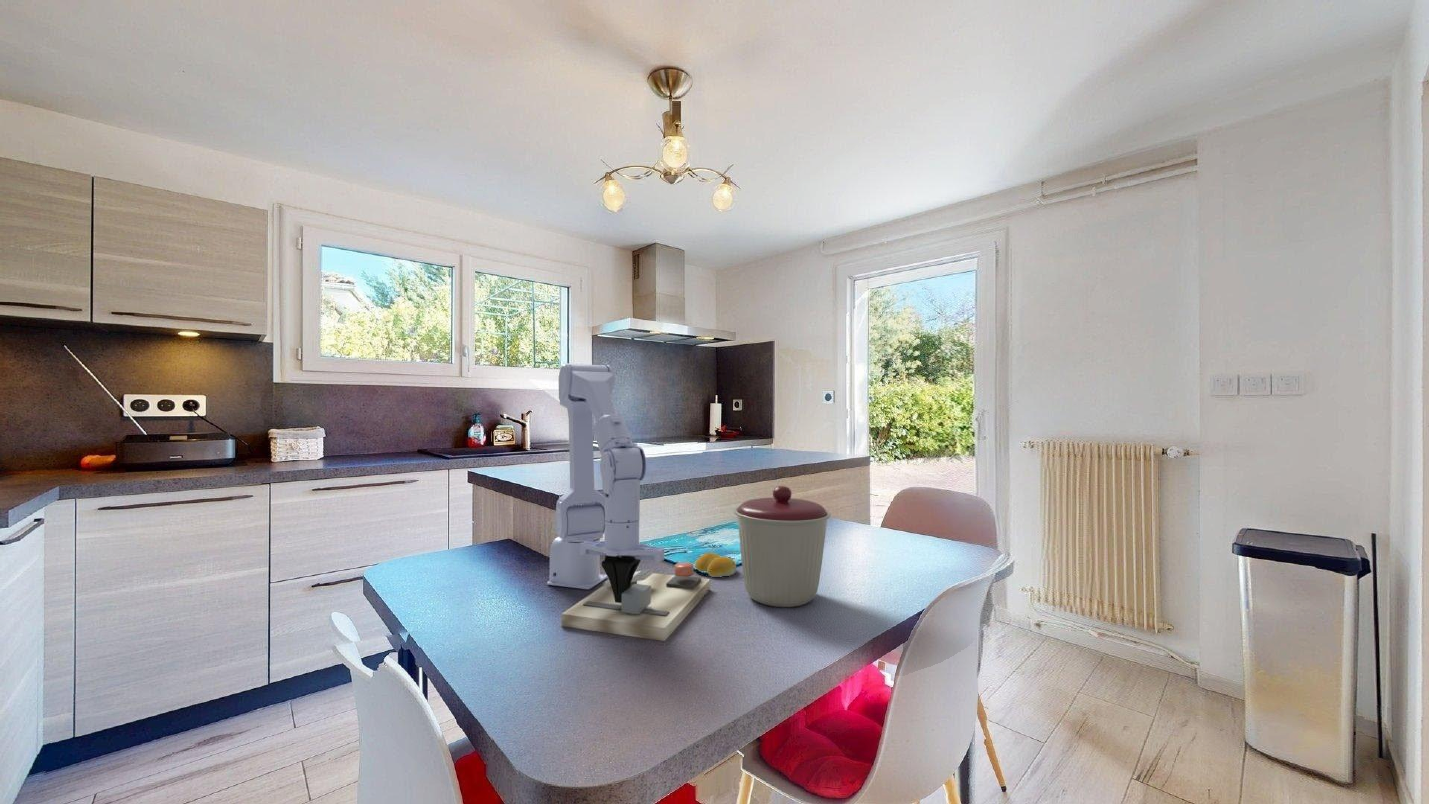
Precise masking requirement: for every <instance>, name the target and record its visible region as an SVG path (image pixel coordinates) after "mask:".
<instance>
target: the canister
mask: <svg viewBox="0 0 1429 804" xmlns="http://www.w3.org/2000/svg"><path fill="white" fill-rule="evenodd" d="M772 496H773V497H762V498H760V497H759V498H754V499H749V500H747V501H744V502H742V503H741V504H740V505H738V506H736V507H735V508H734V509H733V513H734V514H735V516H737V523H738V524H737V526H738V527H737V528H738V535H739V548H740V558H741V567H742V574H743V575H742V576H743V583H744V587H745V590H746V592H747V594H748V595H749V597H750V598H751V599H753V600H754V601H756V602H758V603H760V604H762V605H766V606H771V607H776V608H794V607H799V606H803V605H805V604H808V603H810V602H811V601H812V600H813V599H814V598H815V597H816V595H817V591H818V589H819V585H820V579H821V571H822V566H823V565H822V564H823V557H824V550H825V542H826V540H825V539H826V535H827V534H826V533H827V523H828V520H829V519H830V517H831V516H832V515H831V512H830V510H829V509H827V508H824V507H823V505H821V504H820V503H817V502H814V501H811V500H807V499H800V498H794V497H793V498H791V497H792V490H791V489H790V488H789V486H784V485H778V486H776V487H774V488H773V491H772Z"/></svg>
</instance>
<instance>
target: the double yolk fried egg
mask: <svg viewBox="0 0 1429 804" xmlns="http://www.w3.org/2000/svg"><path fill="white" fill-rule="evenodd" d="M695 568H697V569H698V570H700V571H707V573H708V574H709V575H710V576H713V577H720V576H729V577H731V576H730V575H732V574H733V575H734V573H735V574H736V572H737V571H736V570H737V564H736V562H735V560H733V559H732V557H731V558H730V557H727V556H721V555H719V554H717V553H716V552H707V553H704V554H702V555H700V556H699V557H698V558H697V559H696V560H695V562H694V569H695ZM733 575H732V576H733Z"/></svg>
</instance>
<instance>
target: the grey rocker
mask: <svg viewBox="0 0 1429 804" xmlns="http://www.w3.org/2000/svg"><path fill="white" fill-rule="evenodd" d="M636 571H637V570H636ZM653 573H654V571H653V568H648V569H642V570H638V571H637V572H635V573H634V576H633V578H632V581H631V582H635V581H641V580H645V579H646V578H648V577H649V576H650V575H652V574H653ZM604 583H605V584H604V585H606V586H609V585H611V584H610V581H609V578H607V579H606V580H605V581H604Z"/></svg>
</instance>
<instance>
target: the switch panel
mask: <svg viewBox="0 0 1429 804" xmlns="http://www.w3.org/2000/svg"><path fill="white" fill-rule="evenodd" d="M635 572H637V570H636V571H635ZM634 584H642V585H650V586H651V603H650V604H649V605H648V606H647V607H646V608H645V609H644V610H643V611H642V612H640V613H639V614H632V613H625V612H621V607H622V603H617V602H615V599H614V594H613V590H612V587H611V585H609V586H606V585H605V584H603V585H602V586H600V587H599V588H598V589H596V590H595V591H593V592H592V593H590V594H589V595H587V596H586V597H584V598H583V599H581V600H579V601H578V602H577V603H576V604H574V605H573V606H571V607H570V608H568V609H566V610H565V611H564V612H562V613H561V623H560V624H561V627H566V628H573V629H579V630H586V631H593V632H599V633H600V632H601V633H607V634H613V635H620V636H628V637H632V638H633V637H634V638H641V639H648V640H655V641H662V642H665V641H667V640H668V638H669V637H670V636H671V635H672V634H673V632H674V631H675V630H677V628H678V627H679V626H680V624H681V623H682V622H683V621H684V620H685V619H686V617H687V616H688V615H689V614H690V613H691V612H692V611H693V609H695V607H696V606H697V605H698V604H699V602H700V601H701V600H702V599H703V598H704V597H705V596H706V595H707V594H708V592H709V591H710V590H711V579H709V578H702V577H697V576H688V577H680V576H676V575H675V574H665V573H664V574H663V573H656V572H655V573H654V572H653V574H652V575H650V576H649V577H648V578H646V579H645V580H641V581H635V582H631V584H630V587H631V586H632V585H634ZM709 589H710V590H709ZM708 590H709V591H708ZM707 591H708V592H707ZM705 594H706V595H705ZM704 595H705V596H704ZM702 597H703V598H702Z"/></svg>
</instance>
